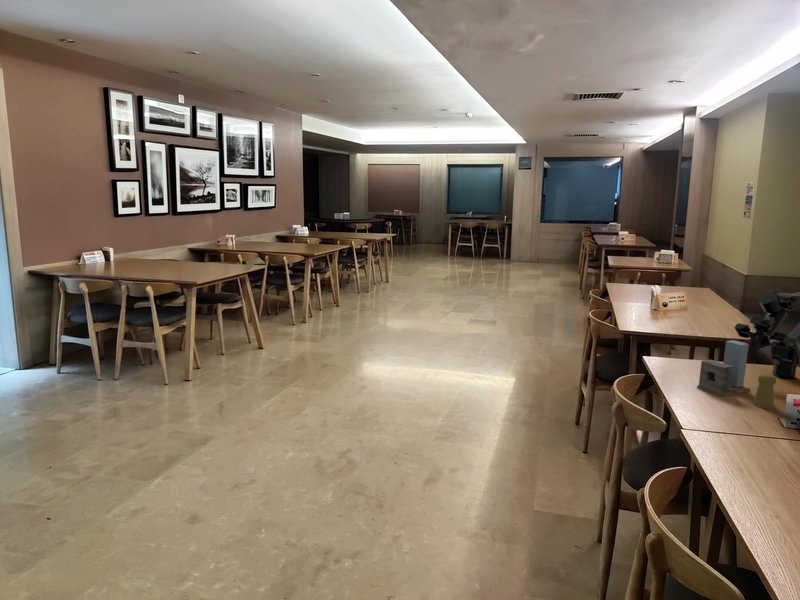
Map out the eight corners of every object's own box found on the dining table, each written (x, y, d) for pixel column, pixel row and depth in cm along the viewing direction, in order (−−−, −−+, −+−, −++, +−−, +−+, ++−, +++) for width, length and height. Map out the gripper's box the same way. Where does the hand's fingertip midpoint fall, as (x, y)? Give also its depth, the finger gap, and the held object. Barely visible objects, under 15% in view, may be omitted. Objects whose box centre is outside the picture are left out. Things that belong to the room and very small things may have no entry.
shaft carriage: (727, 381, 216) (733, 340, 213) (743, 386, 210) (748, 344, 207) (708, 385, 211) (713, 343, 208) (723, 390, 206) (729, 347, 203)
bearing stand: (724, 382, 218) (727, 355, 216) (749, 390, 209) (753, 362, 207) (696, 388, 211) (699, 360, 209) (722, 396, 203) (725, 368, 201)
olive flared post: (777, 408, 192) (782, 377, 190) (759, 408, 192) (764, 377, 190) (766, 402, 198) (771, 371, 196) (749, 401, 198) (753, 371, 196)
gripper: (740, 302, 221) (718, 333, 218) (790, 312, 204) (767, 345, 202) (750, 320, 226) (729, 350, 223) (800, 331, 209) (778, 363, 207)
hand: (749, 352), depth 213 cm, fingers closed
